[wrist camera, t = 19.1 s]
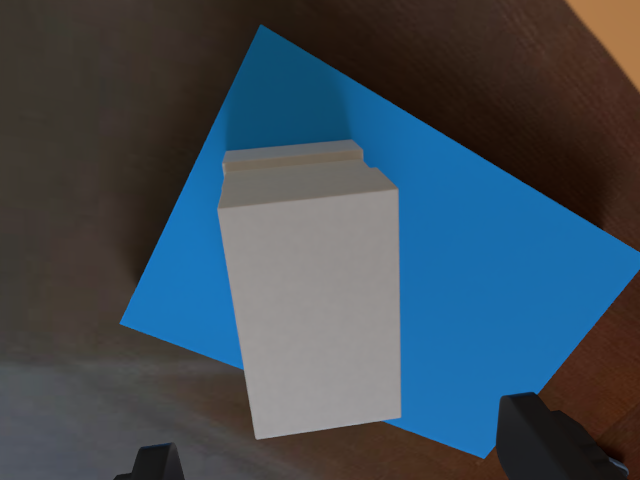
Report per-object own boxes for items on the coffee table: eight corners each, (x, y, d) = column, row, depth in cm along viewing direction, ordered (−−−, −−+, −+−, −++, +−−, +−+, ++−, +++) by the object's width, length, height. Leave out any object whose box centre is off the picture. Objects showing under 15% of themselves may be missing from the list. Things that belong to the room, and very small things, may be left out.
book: (255, 20, 20) (657, 256, 27) (257, 27, 24) (605, 230, 31) (112, 335, 25) (485, 469, 31) (133, 296, 29) (460, 422, 35)
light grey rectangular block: (225, 150, 22) (216, 177, 17) (352, 139, 22) (377, 161, 18) (252, 333, 26) (251, 394, 21) (360, 319, 26) (382, 376, 21)
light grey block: (223, 182, 17) (216, 207, 15) (377, 166, 18) (398, 187, 15) (255, 389, 21) (255, 440, 18) (383, 371, 21) (401, 418, 19)
